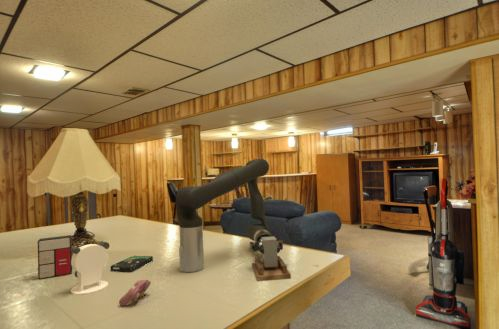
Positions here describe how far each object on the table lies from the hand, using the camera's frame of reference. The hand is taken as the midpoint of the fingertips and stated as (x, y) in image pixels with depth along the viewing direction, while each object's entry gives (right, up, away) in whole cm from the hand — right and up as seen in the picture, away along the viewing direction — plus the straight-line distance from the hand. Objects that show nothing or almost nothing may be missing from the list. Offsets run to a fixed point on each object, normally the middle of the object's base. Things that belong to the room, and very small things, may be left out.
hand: (270, 250), depth 106 cm
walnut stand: (0, -9, +2) cm, 9 cm away
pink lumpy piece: (-43, -10, -17) cm, 48 cm away
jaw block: (0, -6, +2) cm, 7 cm away
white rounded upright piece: (-63, -11, -6) cm, 65 cm away
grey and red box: (-85, -13, +8) cm, 86 cm away
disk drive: (-58, -12, +17) cm, 61 cm away
